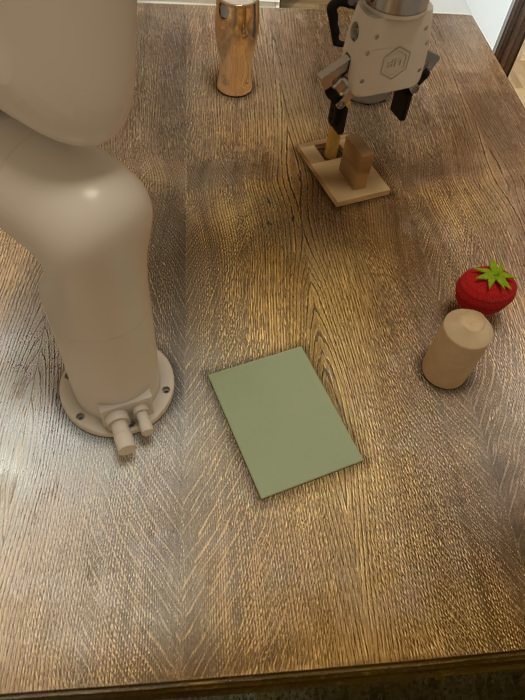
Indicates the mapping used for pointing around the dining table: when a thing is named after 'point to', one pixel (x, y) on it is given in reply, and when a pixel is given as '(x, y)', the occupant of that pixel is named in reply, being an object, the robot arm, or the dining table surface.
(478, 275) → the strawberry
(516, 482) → the dining table surface
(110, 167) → the robot arm
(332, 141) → the wooden peg
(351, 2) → the coffeepot
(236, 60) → the beer glass
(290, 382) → the mat
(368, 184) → the wooden board with handle
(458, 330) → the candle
